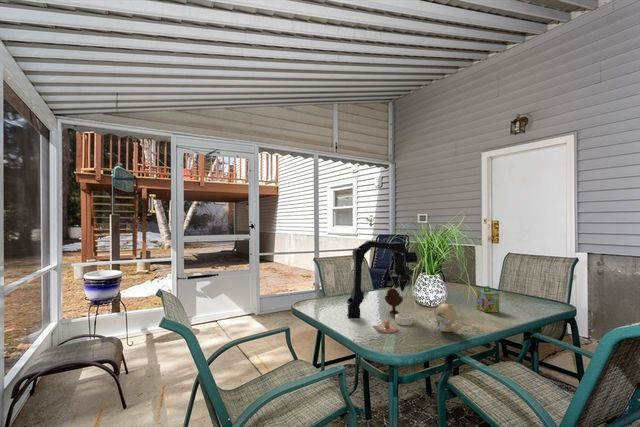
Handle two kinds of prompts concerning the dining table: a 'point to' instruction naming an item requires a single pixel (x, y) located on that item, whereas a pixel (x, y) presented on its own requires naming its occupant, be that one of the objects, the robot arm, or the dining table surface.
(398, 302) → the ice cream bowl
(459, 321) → the dining table surface
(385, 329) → the lid
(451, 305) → the kitten
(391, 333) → the mat
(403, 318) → the bowl
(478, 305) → the chalk box
